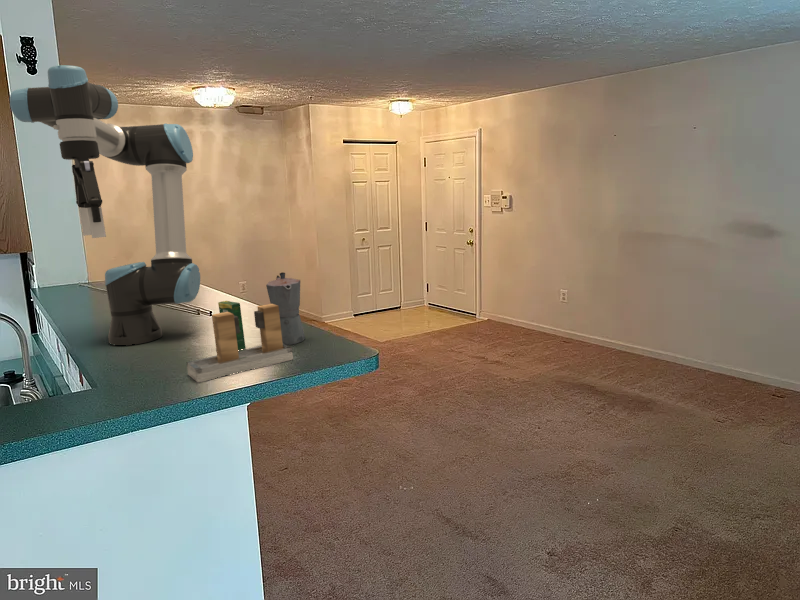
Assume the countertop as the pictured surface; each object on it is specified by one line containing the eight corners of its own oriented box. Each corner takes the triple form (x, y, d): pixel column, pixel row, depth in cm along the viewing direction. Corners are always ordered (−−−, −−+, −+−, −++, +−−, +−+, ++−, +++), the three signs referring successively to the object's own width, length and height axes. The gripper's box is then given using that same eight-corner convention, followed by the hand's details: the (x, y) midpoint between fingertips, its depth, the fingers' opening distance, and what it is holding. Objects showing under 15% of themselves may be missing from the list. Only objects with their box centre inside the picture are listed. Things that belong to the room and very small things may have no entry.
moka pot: (279, 350, 158) (271, 277, 153) (264, 338, 171) (257, 271, 167) (313, 343, 162) (306, 272, 158) (296, 332, 175) (289, 266, 171)
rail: (188, 374, 141) (186, 362, 140) (280, 353, 154) (278, 341, 154) (197, 382, 135) (196, 369, 134) (293, 359, 148) (291, 347, 147)
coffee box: (223, 346, 165) (217, 301, 162) (232, 344, 166) (226, 299, 164) (236, 351, 159) (231, 304, 156) (246, 349, 161) (240, 302, 158)
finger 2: (258, 353, 149) (252, 307, 146) (277, 348, 152) (272, 303, 149) (264, 356, 145) (258, 309, 143) (283, 351, 148) (278, 305, 146)
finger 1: (217, 362, 143) (211, 314, 140) (238, 357, 146) (232, 310, 143) (223, 365, 140) (217, 317, 137) (244, 360, 143) (238, 313, 140)
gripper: (53, 145, 137) (69, 235, 141) (65, 135, 117) (83, 240, 121) (88, 145, 141) (103, 232, 146) (106, 134, 121) (122, 236, 126)
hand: (94, 236), depth 133 cm, fingers open, 13 cm apart
